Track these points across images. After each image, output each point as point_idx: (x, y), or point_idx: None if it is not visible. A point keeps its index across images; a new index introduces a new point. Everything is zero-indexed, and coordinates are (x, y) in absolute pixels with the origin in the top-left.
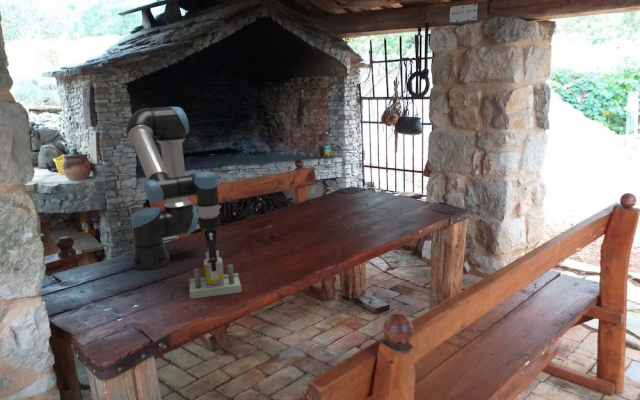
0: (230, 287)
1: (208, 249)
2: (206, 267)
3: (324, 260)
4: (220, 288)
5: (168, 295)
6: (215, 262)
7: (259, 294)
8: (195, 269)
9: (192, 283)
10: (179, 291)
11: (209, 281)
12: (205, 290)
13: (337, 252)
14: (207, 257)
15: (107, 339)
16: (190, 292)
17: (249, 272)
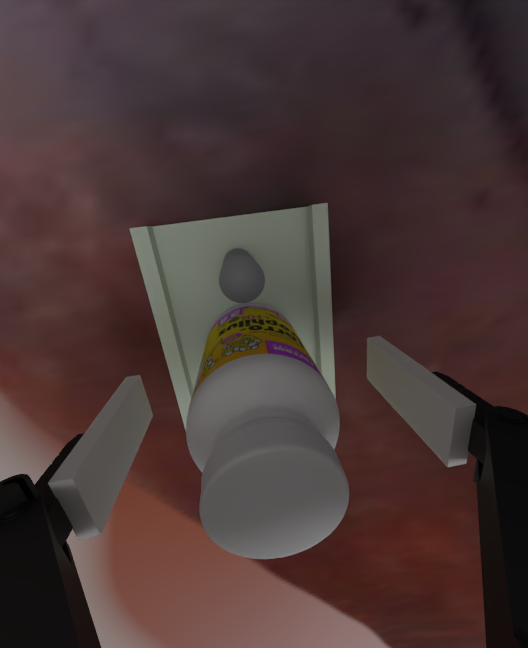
0: (184, 420)
1: (464, 411)
2: (207, 371)
3: (402, 613)
4: (173, 382)
5: (203, 83)
6: (75, 519)
7: (169, 493)
8: (237, 272)
9: (298, 223)
10: (251, 151)
11: (208, 340)
12: (155, 314)
13: (447, 631)
14: (226, 435)
15: None
16: (133, 233)
17: (388, 442)
